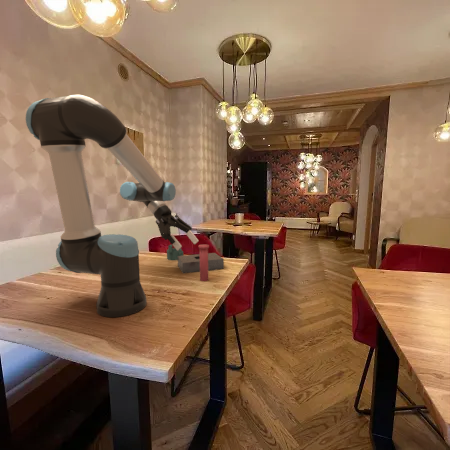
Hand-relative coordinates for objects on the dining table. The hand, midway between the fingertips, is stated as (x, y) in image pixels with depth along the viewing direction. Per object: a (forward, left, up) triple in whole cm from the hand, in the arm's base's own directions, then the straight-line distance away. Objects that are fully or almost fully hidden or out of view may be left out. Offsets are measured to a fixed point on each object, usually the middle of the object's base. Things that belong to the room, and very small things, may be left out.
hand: (188, 245), depth 113 cm
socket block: (+8, +12, -14) cm, 20 cm away
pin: (+5, -7, -14) cm, 16 cm away
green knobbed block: (-1, +34, -14) cm, 37 cm away
